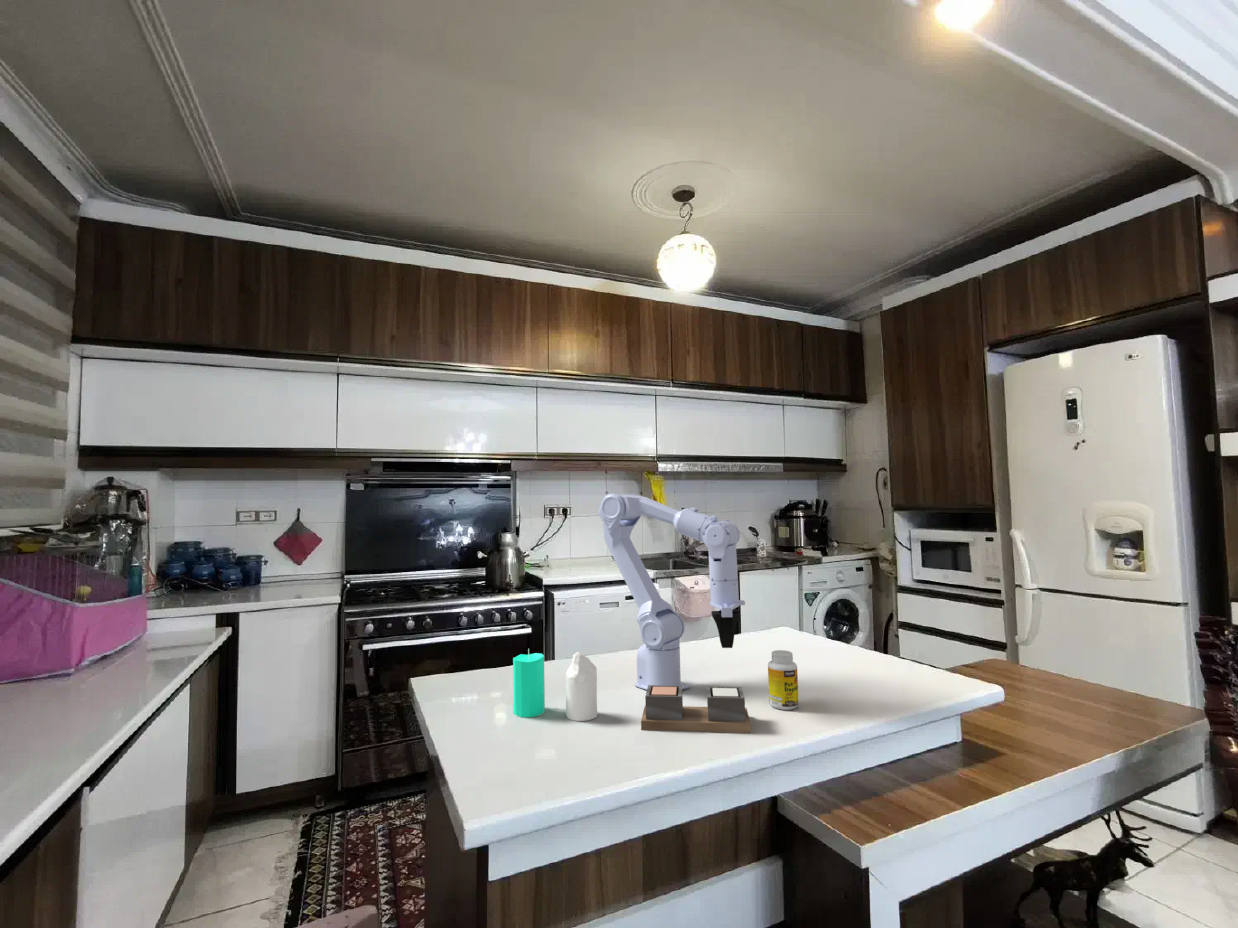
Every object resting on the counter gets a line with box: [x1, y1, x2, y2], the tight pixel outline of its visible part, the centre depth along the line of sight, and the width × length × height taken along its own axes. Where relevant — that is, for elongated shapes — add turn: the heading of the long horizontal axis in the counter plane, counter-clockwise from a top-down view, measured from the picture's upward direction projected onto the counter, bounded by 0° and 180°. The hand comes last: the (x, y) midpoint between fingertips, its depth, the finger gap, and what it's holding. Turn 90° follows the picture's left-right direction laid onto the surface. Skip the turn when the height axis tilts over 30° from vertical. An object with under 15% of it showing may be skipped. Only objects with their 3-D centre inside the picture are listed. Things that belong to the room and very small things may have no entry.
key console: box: [640, 685, 752, 734], centre depth 103 cm, size 8×19×6 cm, turn 82°
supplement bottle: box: [767, 649, 799, 711], centre depth 111 cm, size 6×6×10 cm
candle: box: [512, 648, 546, 718], centre depth 111 cm, size 6×6×12 cm
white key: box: [712, 688, 738, 697], centre depth 103 cm, size 4×4×2 cm
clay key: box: [651, 687, 677, 696], centre depth 104 cm, size 4×4×2 cm
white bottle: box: [565, 651, 598, 722], centre depth 108 cm, size 6×12×6 cm
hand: (727, 647), depth 116 cm, fingers closed
